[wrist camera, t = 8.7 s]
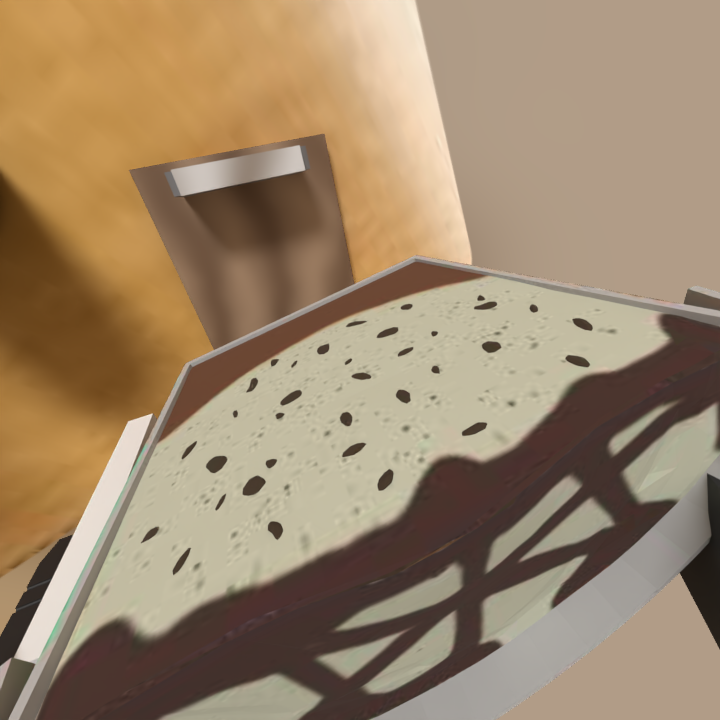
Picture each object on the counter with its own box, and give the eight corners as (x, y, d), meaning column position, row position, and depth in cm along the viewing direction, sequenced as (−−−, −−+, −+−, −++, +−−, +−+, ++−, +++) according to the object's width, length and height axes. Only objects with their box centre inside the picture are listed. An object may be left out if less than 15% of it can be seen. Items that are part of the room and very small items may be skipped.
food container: (237, 487, 14) (237, 906, 6) (143, 382, 11) (-161, 976, 3) (472, 363, 16) (748, 555, 7) (449, 239, 13) (893, 322, 4)
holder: (228, 374, 36) (227, 407, 30) (134, 171, 26) (105, 163, 20) (360, 331, 39) (382, 354, 34) (320, 136, 30) (341, 121, 24)
